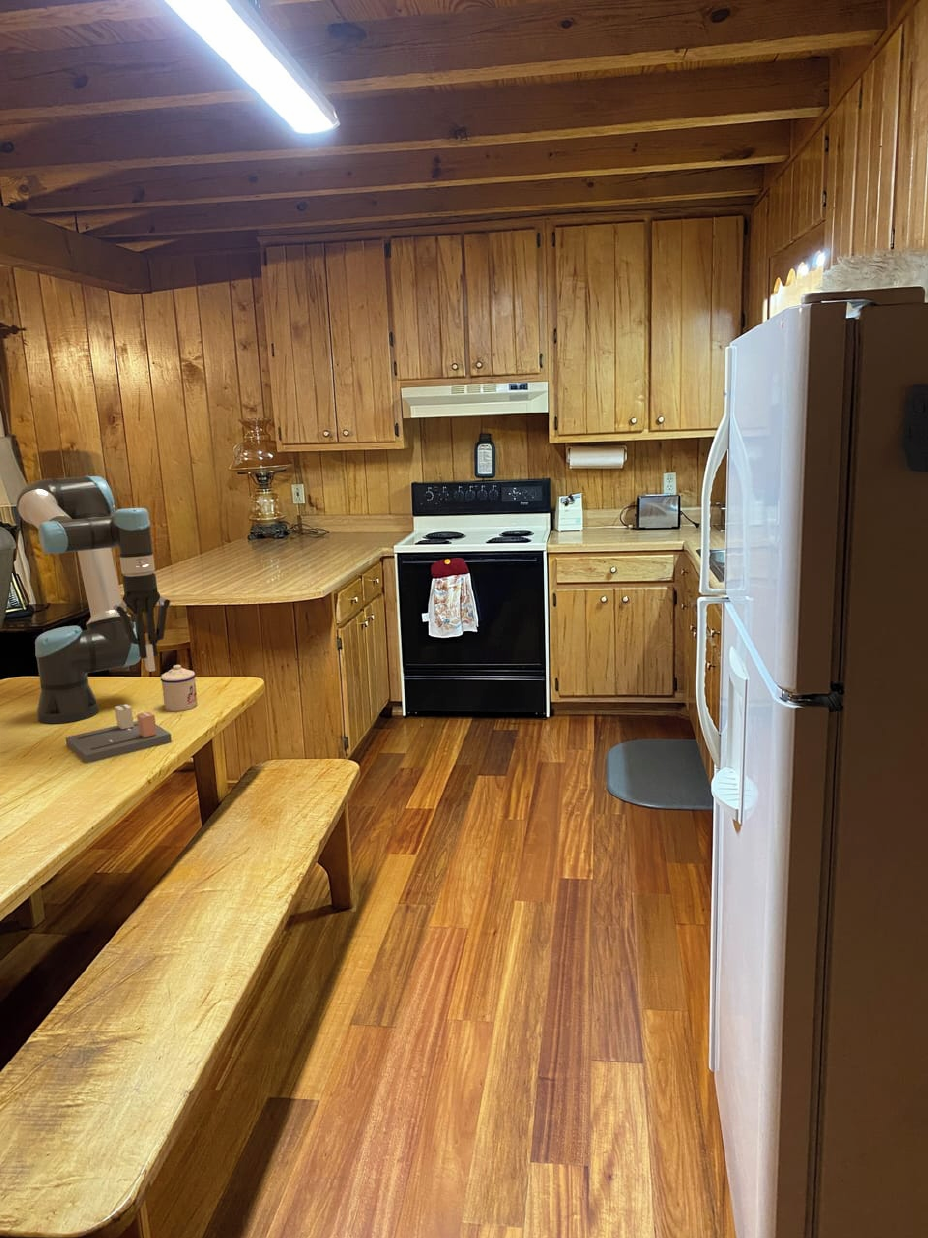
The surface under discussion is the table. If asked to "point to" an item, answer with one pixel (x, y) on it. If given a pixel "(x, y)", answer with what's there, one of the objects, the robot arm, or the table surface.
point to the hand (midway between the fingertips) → (150, 670)
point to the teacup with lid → (179, 689)
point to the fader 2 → (146, 724)
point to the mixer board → (114, 742)
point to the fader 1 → (124, 716)
